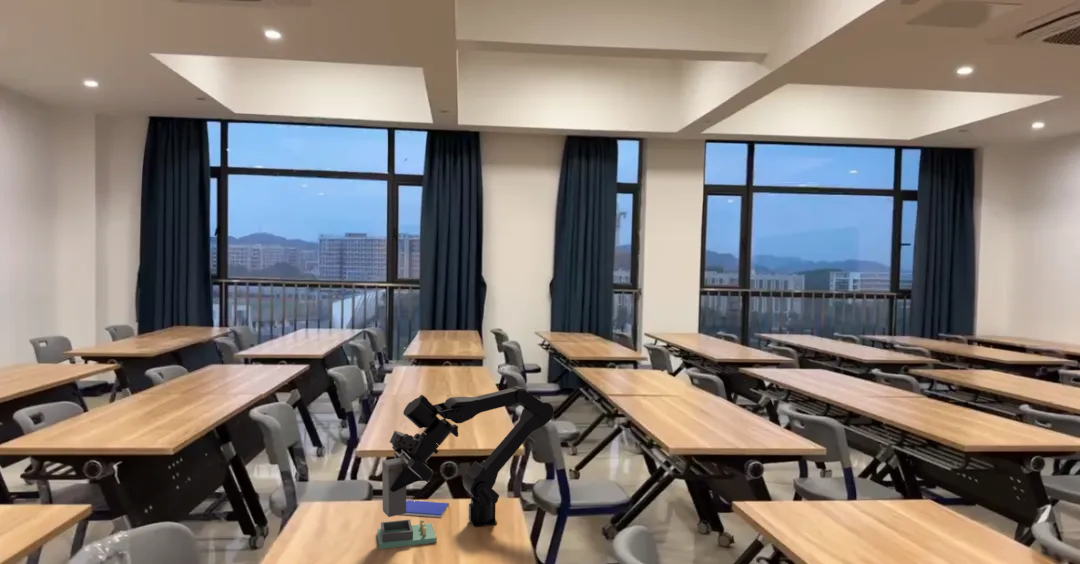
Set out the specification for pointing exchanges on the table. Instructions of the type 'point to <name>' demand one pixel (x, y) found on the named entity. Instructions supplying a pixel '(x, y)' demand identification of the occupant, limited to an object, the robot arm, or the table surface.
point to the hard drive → (425, 508)
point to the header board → (405, 534)
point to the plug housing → (391, 500)
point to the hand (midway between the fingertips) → (388, 487)
